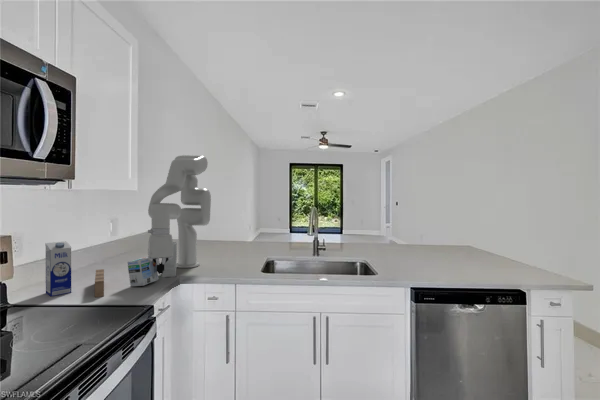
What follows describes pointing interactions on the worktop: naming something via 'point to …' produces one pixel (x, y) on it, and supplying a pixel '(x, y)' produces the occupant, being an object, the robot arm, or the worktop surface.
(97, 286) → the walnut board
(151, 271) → the light bulb box
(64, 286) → the milk carton
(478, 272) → the worktop surface
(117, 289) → the worktop surface
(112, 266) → the worktop surface
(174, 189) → the robot arm
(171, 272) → the skincare box
